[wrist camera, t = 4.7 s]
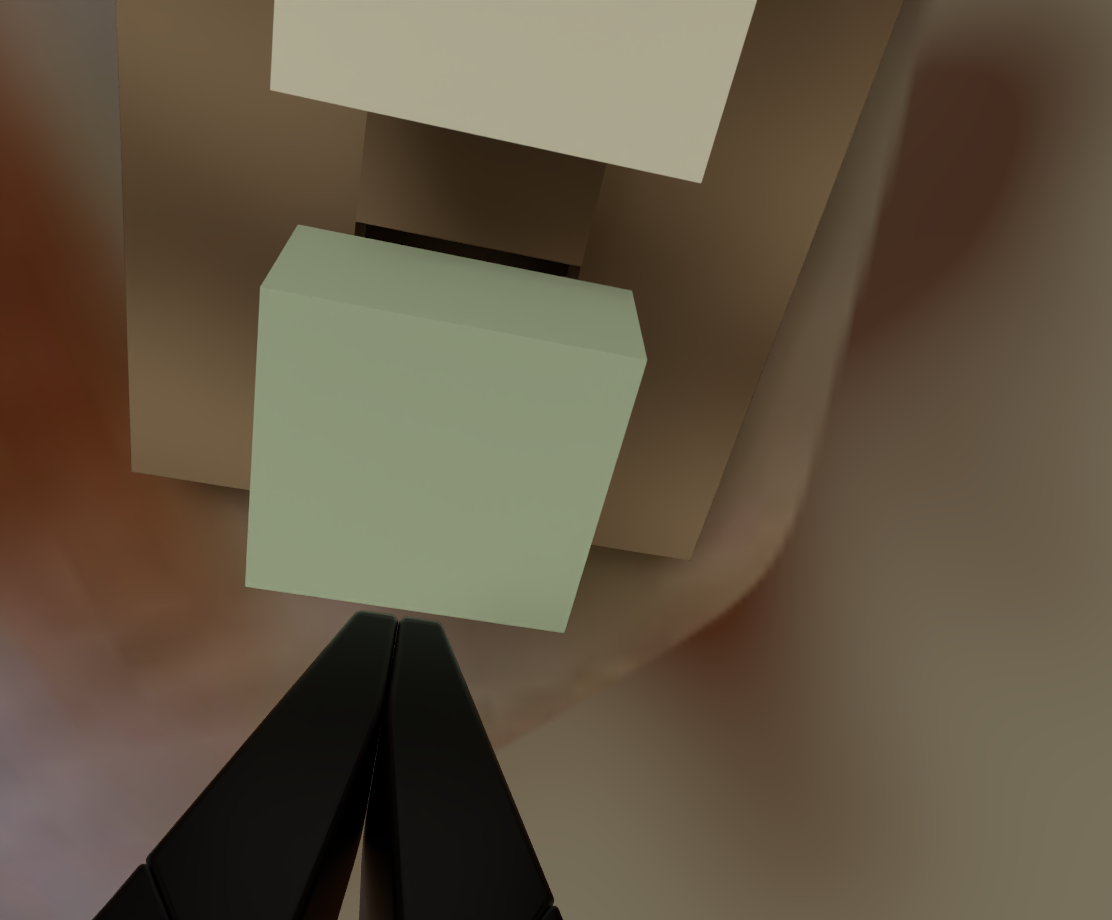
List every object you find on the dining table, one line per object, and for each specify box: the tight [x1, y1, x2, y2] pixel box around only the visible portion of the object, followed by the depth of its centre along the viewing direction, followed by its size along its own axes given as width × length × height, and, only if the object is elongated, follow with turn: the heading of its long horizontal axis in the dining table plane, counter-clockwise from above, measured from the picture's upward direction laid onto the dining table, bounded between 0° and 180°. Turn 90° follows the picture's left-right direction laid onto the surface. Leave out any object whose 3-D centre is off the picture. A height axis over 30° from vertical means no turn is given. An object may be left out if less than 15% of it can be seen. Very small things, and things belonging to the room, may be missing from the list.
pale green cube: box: [245, 225, 647, 633], centre depth 13 cm, size 4×4×4 cm
